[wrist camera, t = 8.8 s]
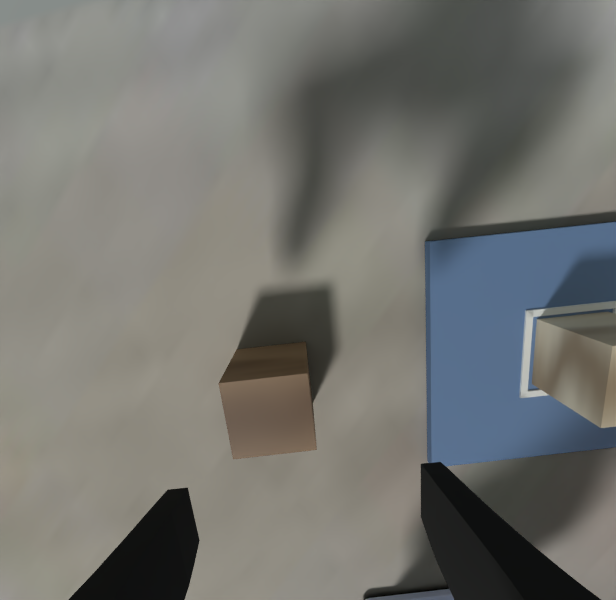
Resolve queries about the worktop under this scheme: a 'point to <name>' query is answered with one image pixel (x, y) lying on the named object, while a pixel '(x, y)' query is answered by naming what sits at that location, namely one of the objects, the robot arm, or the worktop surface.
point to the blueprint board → (508, 339)
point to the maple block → (579, 364)
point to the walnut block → (268, 401)
